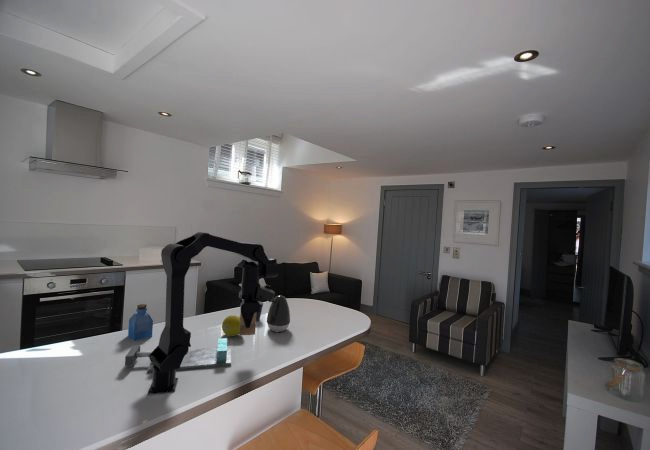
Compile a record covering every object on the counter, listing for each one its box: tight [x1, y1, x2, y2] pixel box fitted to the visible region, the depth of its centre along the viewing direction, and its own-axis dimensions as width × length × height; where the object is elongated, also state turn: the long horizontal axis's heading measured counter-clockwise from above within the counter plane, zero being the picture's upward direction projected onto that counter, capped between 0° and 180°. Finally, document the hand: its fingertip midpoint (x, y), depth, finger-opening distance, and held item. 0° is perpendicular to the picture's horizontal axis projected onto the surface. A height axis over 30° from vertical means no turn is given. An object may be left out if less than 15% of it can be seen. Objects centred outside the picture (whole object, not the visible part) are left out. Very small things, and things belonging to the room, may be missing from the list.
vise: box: [147, 337, 232, 374], centre depth 99 cm, size 24×12×5 cm, turn 108°
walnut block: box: [239, 311, 257, 336], centre depth 102 cm, size 5×5×8 cm
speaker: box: [256, 300, 264, 322], centre depth 141 cm, size 8×6×10 cm
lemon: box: [221, 314, 240, 337], centre depth 121 cm, size 11×8×8 cm
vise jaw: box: [124, 344, 153, 367], centre depth 95 cm, size 11×10×4 cm
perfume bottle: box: [127, 303, 154, 342], centre depth 114 cm, size 6×6×12 cm
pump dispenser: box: [266, 294, 291, 333], centre depth 131 cm, size 10×10×15 cm
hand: (247, 324), depth 102 cm, fingers closed on walnut block, 5 cm apart
